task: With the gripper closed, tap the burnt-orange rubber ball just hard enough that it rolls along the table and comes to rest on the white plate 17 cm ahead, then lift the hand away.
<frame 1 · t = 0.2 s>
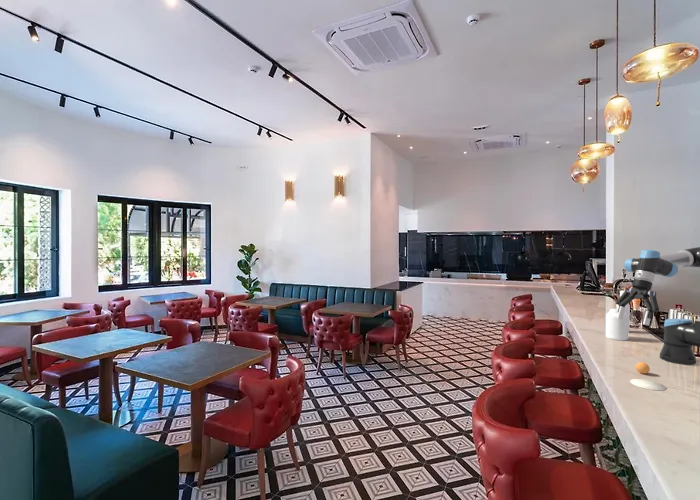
hand: (632, 322, 178), 27 cm above the countertop, tool tilted 15°, fingers open, 13 cm apart
bottle: (622, 331, 265), on the countertop
ball: (642, 367, 183), on the countertop
white container: (616, 338, 248), on the countertop
white plate: (647, 384, 169), on the countertop
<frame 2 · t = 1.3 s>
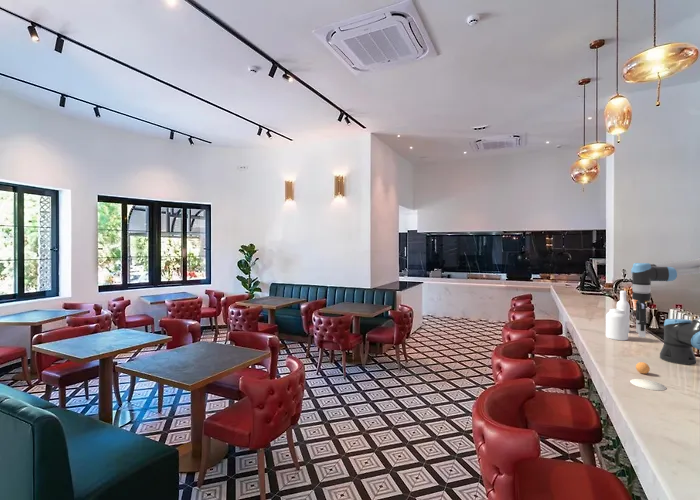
hand: (640, 334, 191), 18 cm above the countertop, tool pointing down, fingers open, 9 cm apart
nothing on the countertop moved.
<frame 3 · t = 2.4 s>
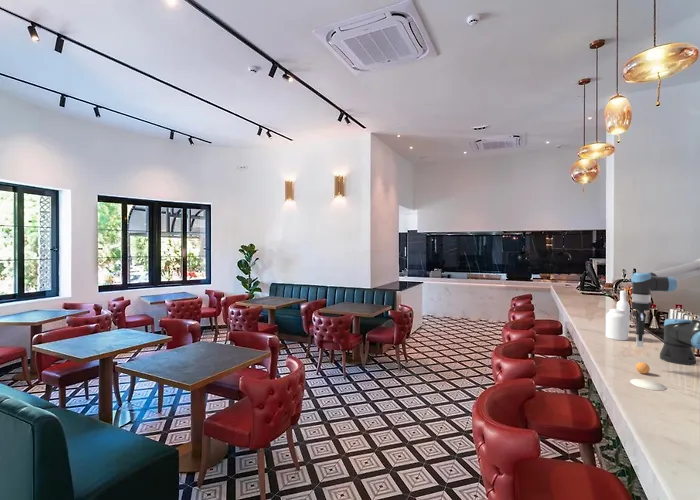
hand: (639, 346, 191), 11 cm above the countertop, tool pointing down, fingers closed
nothing on the countertop moved.
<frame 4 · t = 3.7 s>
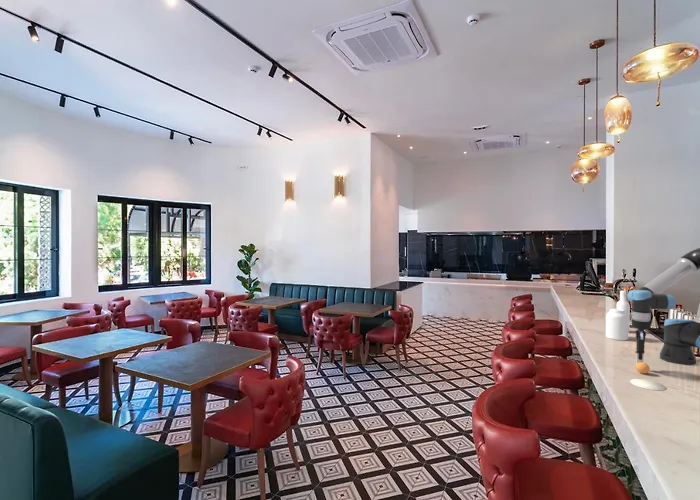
hand: (639, 365, 188), 2 cm above the countertop, tool pointing down, fingers closed
nothing on the countertop moved.
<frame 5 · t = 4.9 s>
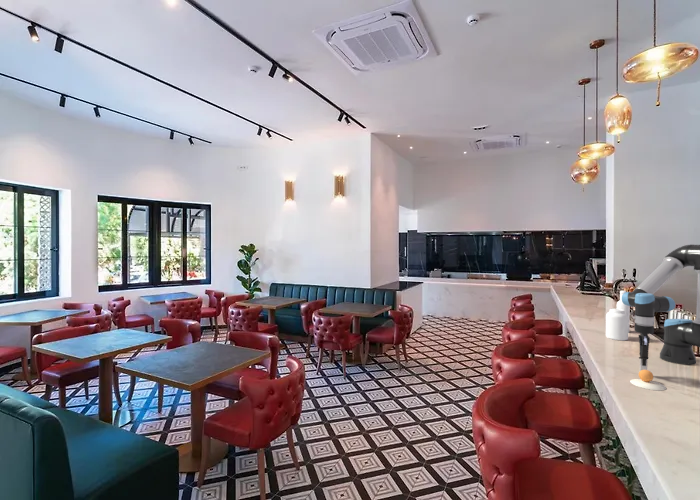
hand: (643, 371, 181), 2 cm above the countertop, tool pointing down, fingers closed
ball: (645, 375, 173), on the countertop
everything else where it was.
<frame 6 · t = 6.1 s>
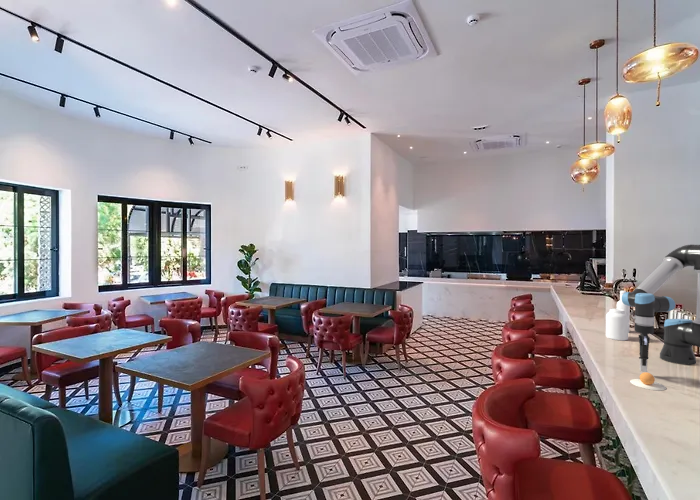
hand: (643, 371, 181), 2 cm above the countertop, tool pointing down, fingers closed
ball: (647, 378, 169), on the countertop
everything else where it was.
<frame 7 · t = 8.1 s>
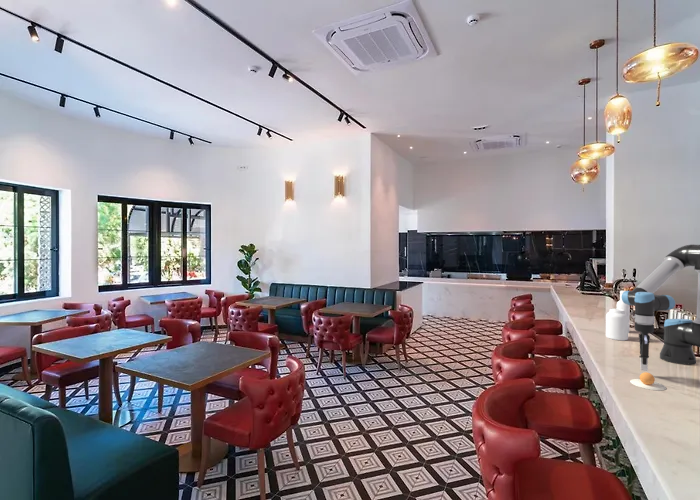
hand: (644, 370, 181), 2 cm above the countertop, tool pointing down, fingers closed
nothing on the countertop moved.
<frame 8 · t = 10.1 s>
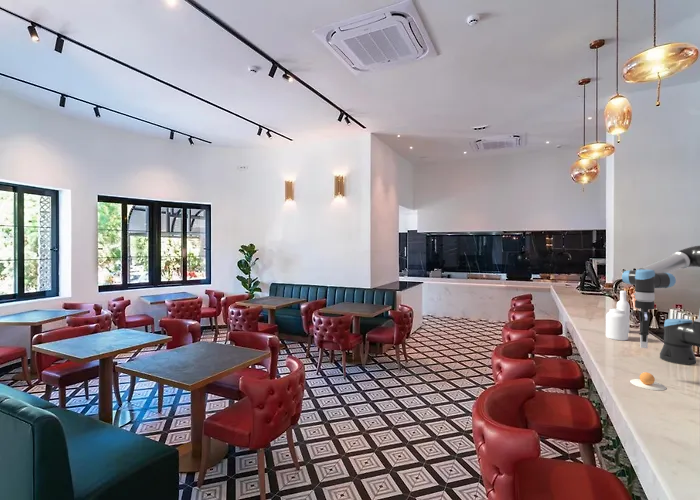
hand: (643, 347, 180), 14 cm above the countertop, tool pointing down, fingers closed
nothing on the countertop moved.
at the end: ball 0.4 cm from the white plate (horizontally); ball at rest at the end (0.0 cm/s); ball moved 16.7 cm from its start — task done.
